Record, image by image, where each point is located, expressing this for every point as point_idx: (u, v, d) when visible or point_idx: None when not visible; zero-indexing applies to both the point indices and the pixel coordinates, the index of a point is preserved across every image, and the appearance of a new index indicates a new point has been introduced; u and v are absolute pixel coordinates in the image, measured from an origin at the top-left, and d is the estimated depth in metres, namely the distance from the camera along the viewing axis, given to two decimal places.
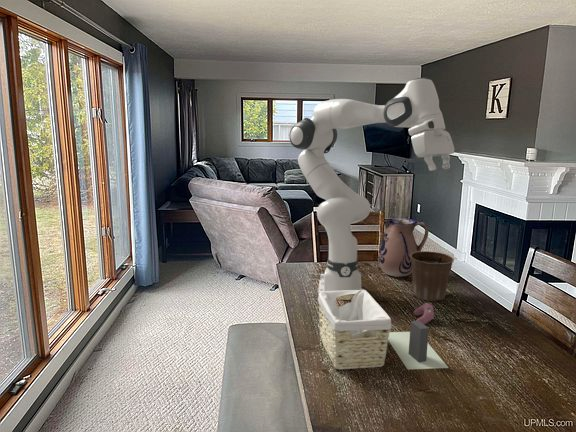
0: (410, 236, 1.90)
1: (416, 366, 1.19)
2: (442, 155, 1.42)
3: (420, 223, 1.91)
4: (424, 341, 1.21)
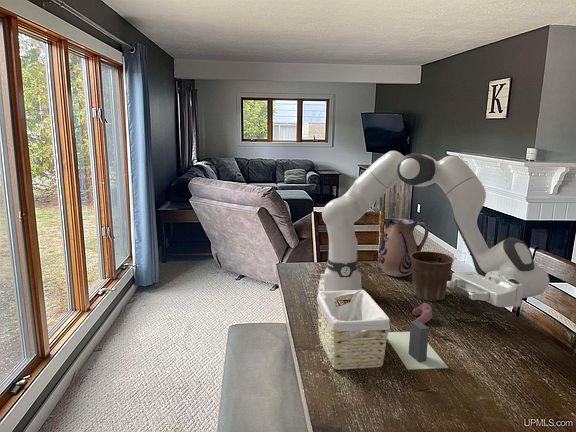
0: (410, 236, 1.90)
1: (416, 366, 1.19)
2: (460, 281, 1.30)
3: (420, 223, 1.91)
4: (424, 341, 1.21)
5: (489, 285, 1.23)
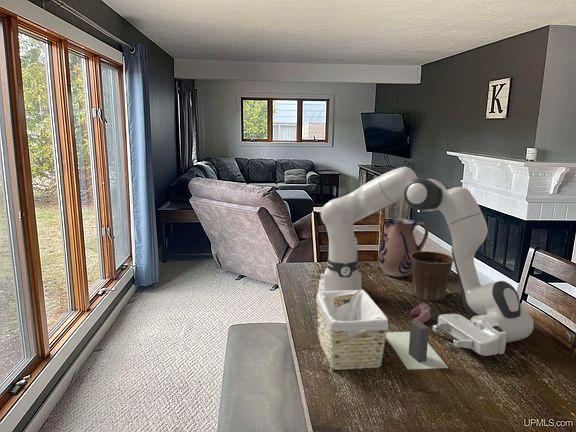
0: (410, 236, 1.90)
1: (416, 366, 1.19)
2: (446, 324, 1.32)
3: (420, 223, 1.91)
4: (424, 341, 1.21)
5: (473, 331, 1.24)
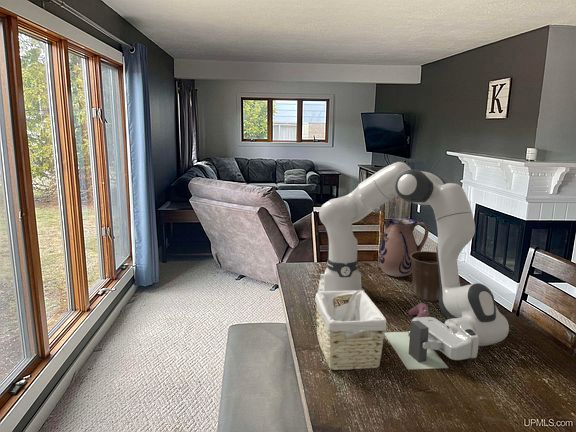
0: (410, 236, 1.90)
1: (416, 366, 1.19)
2: None
3: (420, 223, 1.91)
4: None
5: (446, 335, 1.22)
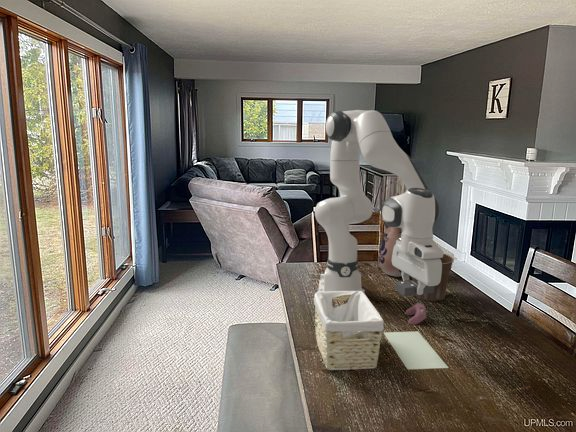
0: None
1: (416, 366, 1.19)
2: None
3: None
4: None
5: (415, 269, 1.24)
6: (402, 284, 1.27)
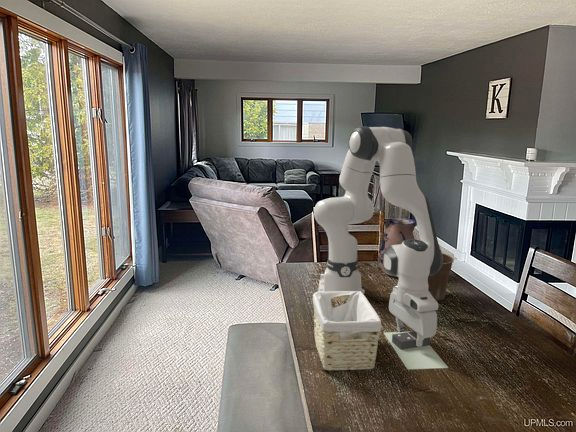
0: (410, 236, 1.90)
1: (416, 366, 1.19)
2: None
3: None
4: (412, 343, 1.29)
5: (411, 319, 1.27)
6: (399, 337, 1.31)
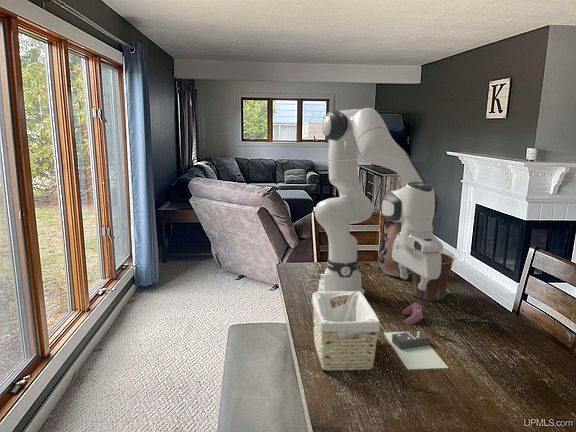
0: None
1: (416, 366, 1.19)
2: None
3: None
4: (412, 343, 1.29)
5: (415, 263, 1.24)
6: (399, 337, 1.31)
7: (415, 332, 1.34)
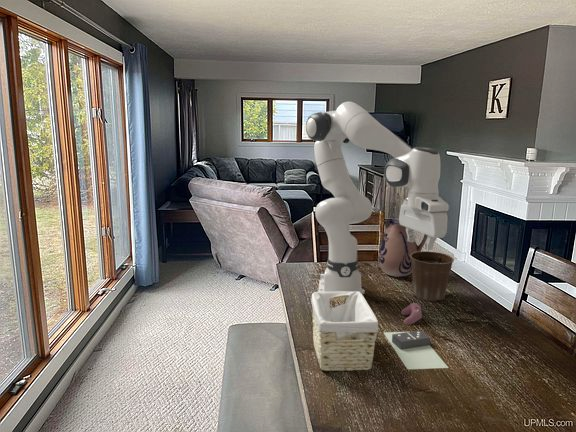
0: None
1: (416, 366, 1.19)
2: (409, 227, 1.38)
3: None
4: (412, 343, 1.29)
5: (422, 224, 1.30)
6: (399, 337, 1.31)
7: (415, 332, 1.34)
